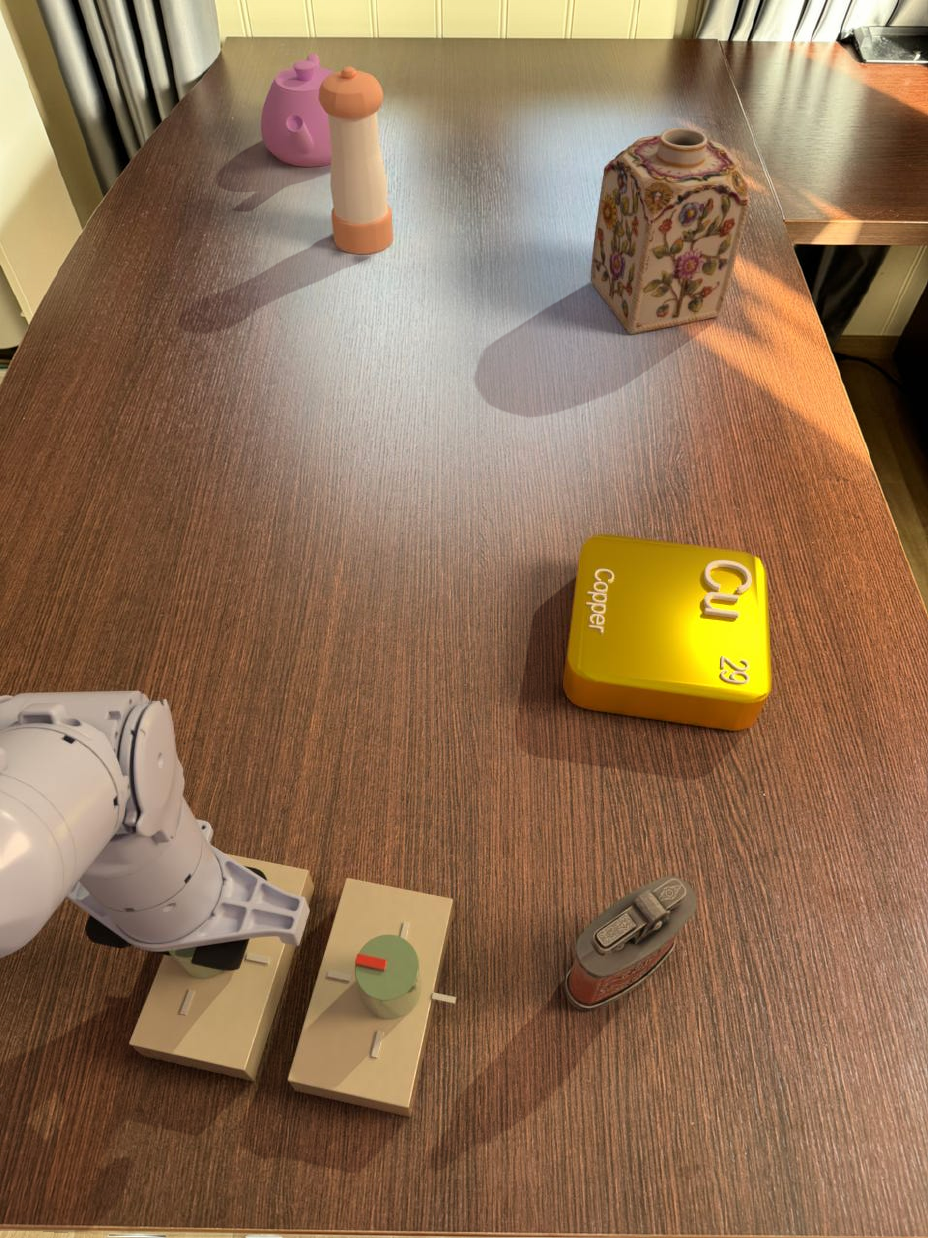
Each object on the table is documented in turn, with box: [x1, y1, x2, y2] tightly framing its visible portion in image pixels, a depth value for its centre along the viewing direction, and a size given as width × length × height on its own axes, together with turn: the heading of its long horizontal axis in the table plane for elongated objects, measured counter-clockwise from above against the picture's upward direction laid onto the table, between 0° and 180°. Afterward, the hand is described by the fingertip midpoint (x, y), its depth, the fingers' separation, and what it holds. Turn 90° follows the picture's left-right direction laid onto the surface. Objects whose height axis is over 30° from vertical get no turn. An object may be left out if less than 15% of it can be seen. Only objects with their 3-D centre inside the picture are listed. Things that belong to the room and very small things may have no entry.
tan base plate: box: [128, 852, 315, 1082], centre depth 56 cm, size 12×8×3 cm
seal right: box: [355, 935, 422, 1019], centre depth 51 cm, size 4×4×4 cm
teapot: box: [260, 53, 335, 168], centre depth 120 cm, size 14×20×11 cm
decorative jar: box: [589, 127, 751, 335], centre depth 95 cm, size 12×12×18 cm
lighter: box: [563, 875, 698, 1013], centre depth 53 cm, size 8×3×10 cm, turn 123°
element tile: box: [562, 533, 773, 732], centre depth 71 cm, size 15×15×5 cm
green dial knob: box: [168, 947, 223, 978], centre depth 53 cm, size 4×4×4 cm
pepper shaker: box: [318, 66, 394, 255], centre depth 103 cm, size 7×7×19 cm
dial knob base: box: [287, 877, 457, 1118], centre depth 54 cm, size 12×8×3 cm
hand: (206, 945), depth 54 cm, fingers closed on green dial knob, 3 cm apart
